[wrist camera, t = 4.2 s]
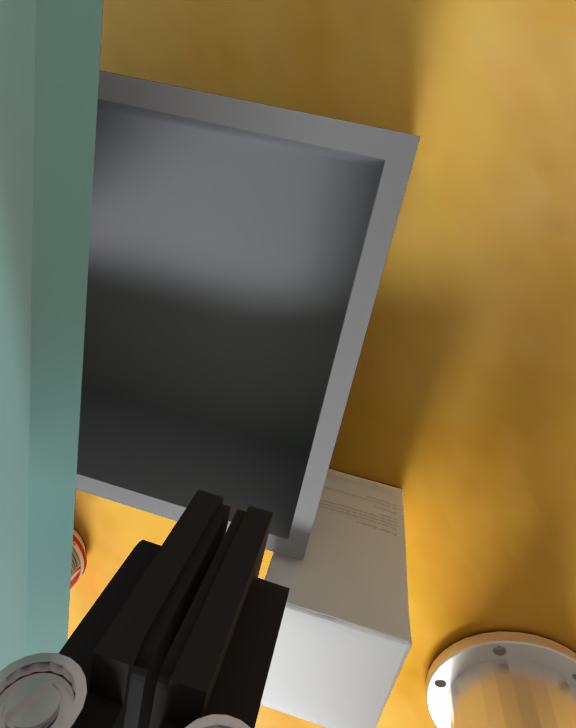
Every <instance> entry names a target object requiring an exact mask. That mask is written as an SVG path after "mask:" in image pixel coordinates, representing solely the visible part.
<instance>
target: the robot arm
mask: <svg viewBox="0 0 576 728" xmlns="http://www.w3.org/2000/svg"><path fill="white" fill-rule="evenodd" d="M223 502H224V498H223V497H222V496H219V495H216V494H212V493H209V492H206V491H203V490H198V491H197V492H196V494H195V495H194V497H193V498H192V500H191V501H190V503H189V505H188V506H187V508H186V509H185V511H184V512H183V514H182V515H181V517H180V518H179V520H178V522H177V523H176V525H175V526H174V528H173V529H172V531H171V532H170V534H169V535H168V537H167V539H166V540H165V542H164V543H163V545H162V546H160V545H157V544H154V543H151V542H148V541H145V540H142V541H140V542H139V543H138V544H137V545H136V546H135V548H134V549H133V550H132V552H131V553H130V555H129V556H128V557H127V559H126V560H125V562H124V563H123V564H122V566H121V567H120V568H119V570H118V571H117V573H116V574H115V575H114V577H113V578H112V580H111V581H110V582H109V584H108V585H107V587H106V588H105V589H104V591H103V592H102V593H101V595H100V596H99V598H98V599H97V600H96V602H95V603H94V605H93V606H92V607H91V609H90V610H89V612H88V613H87V614H86V616H85V617H84V618H83V620H82V621H81V623H80V624H79V625H78V627H77V628H76V630H75V631H74V632H73V634H72V635H71V637H70V638H69V639H68V641H67V642H66V643H65V645H64V646H63V648H62V649H61V650H60V652H59V653H37V654H33V655H29V656H25V657H23V658H21V659H19V660H17V661H15V662H12V663H10V664H9V665H8V666H6V667H5V668H4V669H2V670H1V671H0V728H254V727H255V723H256V719H257V715H258V712H259V708H260V704H261V700H262V696H263V692H264V688H265V684H266V680H267V676H268V672H269V669H270V665H271V661H272V657H273V653H274V649H275V645H276V641H277V637H278V633H279V629H280V625H281V622H282V618H283V614H284V610H285V606H286V602H287V598H288V594H289V590H290V588H287V587H284V586H281V585H278V584H275V583H272V582H269V581H266V580H263V579H260V578H258V575H259V571H260V567H261V563H262V559H263V555H264V551H265V547H266V543H267V539H268V535H269V531H270V527H271V523H272V519H273V514H274V513H273V512H270V511H267V510H263V509H260V508H257V507H254V506H251V505H249V507H248V509H247V511H243V510H240V509H237V511H236V513H235V515H234V517H233V519H232V521H231V523H230V525H229V527H228V529H227V525H228V520H229V515H230V510H231V507H230V506H227V505H224V504H223ZM226 529H227V532H226ZM426 701H427V706H428V711H429V713H430V715H431V717H432V720H433V722H434V723H435V724H436V726H437V727H438V728H576V653H574V652H573V651H571V650H570V649H569V648H567V647H565V646H563V645H561V644H559V643H557V642H554V641H552V640H549V639H546V638H543V637H540V636H537V635H532V634H526V633H520V632H502V631H499V632H490V633H482V634H478V635H475V636H471V637H467V638H465V639H463V640H461V641H458V642H456V643H454V644H452V645H451V646H449V647H448V648H447V649H445V650H444V651H443V652H441V654H440V655H439V656H438V657H437V658H436V659H435V660H434V661H433V663H432V665H431V667H430V669H429V671H428V674H427V679H426Z"/></svg>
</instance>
